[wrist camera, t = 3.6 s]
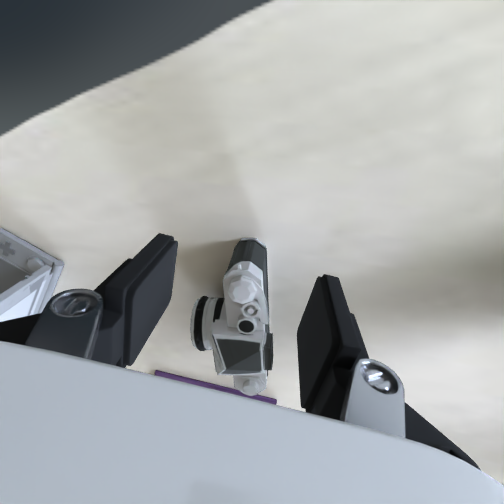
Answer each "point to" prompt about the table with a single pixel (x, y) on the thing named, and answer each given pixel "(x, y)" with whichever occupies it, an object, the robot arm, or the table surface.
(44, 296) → the handheld gaming console
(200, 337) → the camera
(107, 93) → the table surface
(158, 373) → the purple flat rectangular piece
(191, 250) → the table surface
